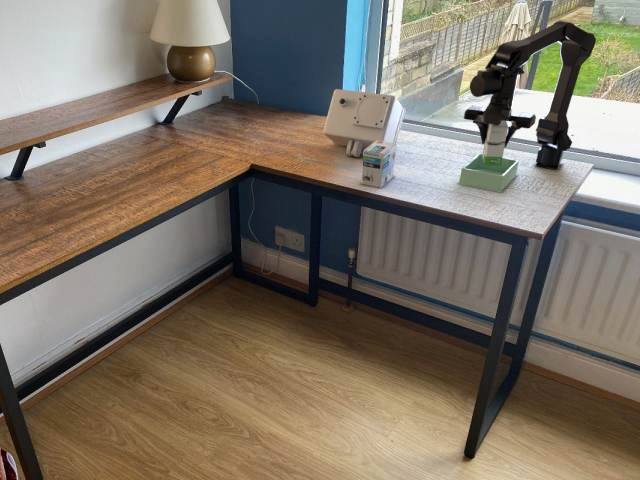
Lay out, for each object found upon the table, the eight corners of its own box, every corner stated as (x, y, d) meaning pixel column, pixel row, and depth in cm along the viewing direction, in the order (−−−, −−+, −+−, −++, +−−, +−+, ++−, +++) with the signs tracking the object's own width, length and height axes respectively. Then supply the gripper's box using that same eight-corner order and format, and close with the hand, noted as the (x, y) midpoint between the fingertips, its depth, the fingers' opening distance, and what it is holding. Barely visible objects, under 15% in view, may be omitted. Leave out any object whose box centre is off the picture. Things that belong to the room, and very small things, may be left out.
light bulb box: (381, 188, 179) (384, 153, 173) (360, 184, 182) (362, 150, 176) (394, 176, 186) (397, 142, 181) (373, 172, 190) (376, 139, 184)
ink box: (501, 166, 175) (508, 126, 168) (483, 165, 176) (490, 125, 169) (499, 155, 182) (506, 117, 175) (482, 155, 183) (488, 116, 176)
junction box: (310, 144, 201) (328, 80, 200) (326, 156, 215) (343, 96, 213) (377, 155, 190) (396, 87, 189) (389, 167, 204) (407, 104, 202)
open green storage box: (515, 175, 184) (519, 160, 181) (500, 192, 174) (503, 176, 171) (476, 168, 190) (479, 153, 187) (459, 183, 180) (461, 168, 177)
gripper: (460, 94, 167) (453, 148, 176) (530, 103, 158) (518, 159, 166) (474, 85, 175) (466, 137, 183) (541, 93, 165) (529, 147, 173)
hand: (494, 145), depth 176 cm, fingers closed on ink box, 6 cm apart
